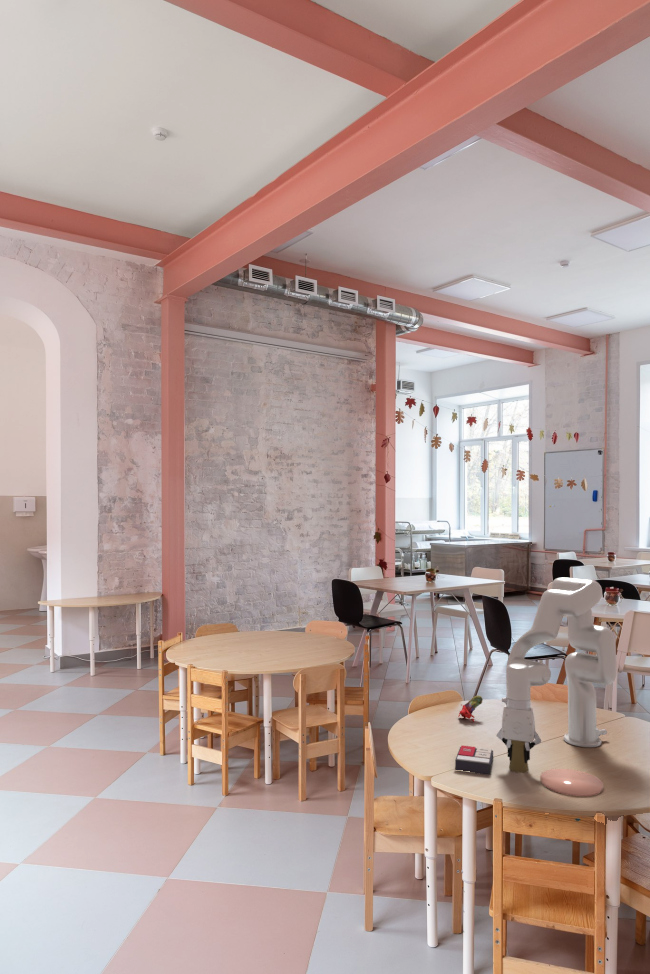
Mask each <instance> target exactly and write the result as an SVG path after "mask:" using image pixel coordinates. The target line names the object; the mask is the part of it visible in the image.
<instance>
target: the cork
mask: <svg viewBox="0 0 650 974" xmlns="http://www.w3.org/2000/svg"><path fill="white" fill-rule="evenodd" d="M511 743H512V758H511V761H510V760H509V765H508V768H509V770H510V771H512V772H515V773H520V774H522V773H527V772H529V770H530V769H529V764H528V762H527V763H525V759H524V751H525V748H526V747H525V742H522V741H515V740H511Z"/></svg>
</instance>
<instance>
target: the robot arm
mask: <svg viewBox="0 0 650 974" xmlns="http://www.w3.org/2000/svg"><path fill="white" fill-rule="evenodd" d="M602 597H603V589H602V586H601V585H600V583H599V582H598V581H596V580H593V579H587V578H586V579H583V578H575V577H565V576H564V577H557V578H555V579H554V580H553V581H552V583H551V589H547V590H545V591H544V592H543V593H542V595H541V597H540V601H539V604H538V607H537V610H536V614H535V616H534V620H533V623H532V626H531V628H530V629H529V630H528V631H526V632H525V633H524V634H522V635H521V636H520V637H519V638H518V639H517V640H516V642H514V644H513V646H512V647H511V649H510V653H509V656H508V660H507V661H506V662H507V663H506V670H505V671H506V672H505V673H506V675H505V676H506V677H505V679H506V680H505V683H506V685H505V686H506V689H505V691H506V697H501V702H502V703H504V704H505V705H504V706H503V709H502V715H501V717H502V718H501V719H502V720H501V728H500V730H499V731H497V733H496V734H495V735H496V737H497V738H498V739H499V740H500V741H502V743H504V745H505V746H506V748H507V757H508V758H509V762H510V761H511V758H512V743H511V740H515V741H522V742H525V747H526V748H525V751H524V759H525V763H527V762H528V761H530V759H531V752H530V750H531V749H533V748H534V747H536V746H537V745H539V744H541V743H542V739H541V738H540V736H539V734H538V733H537V731H536V723H535V713H534V708H532V707H531V702H532V701H531V699H532V698H531V687H542V686H545V685H546V684H547V683H549V681H550V680H551V677H552V676H551V675H552V671H551V669H550V667H549V666H548V665H547V664H545V663H544V662H540V661H536V660H531V659H528V658H527V659H526V655H527V654H528V653H529V651H530V650H531V649H532V648H534V647H536V646H538V645H540V644H544V643H547V642H550V641H553V640H556V638H557V637H558V635H559V630H560V628H561V624H562V621H563V618H564V616H566V618H567V637H568V640H567V641H568V643H569V645H570V647H572V648H573V649H576V650H580V651H584V652H575V651H574V652H571V653H569V654H568V655H567V656H566V658H565V659H564V670H565V675H566V680H567V717H568V718H567V724H568V725H567V730H568V731H567V732H568V733H565V734H564V735H563V740H564V741H565V742H566V743H568V744H570V745H572V746H576V747H580V748H581V747H582V748H595V747H599V746H601V745H602V739H601V738H600V737H601V736H603V735H604V736H605V735H607V734H608V730H607V729H606V728H602V729H599V728H598V727H597V691H596V688H595V687H594V684H597V685H598V684H599V685H604V686H610V685H612V684H614V682H615V681H616V678H617V668H618V667H617V645H616V638H615V634H614V632H613V630H611V628H608V626H607V627H606V626H603V625H597V624H594V622H593V611H592V608H594V607H595V606H596V605H598V603H599V602H600V601H601V599H602ZM585 652H589V653H590V652H591V653H595V655H594V654H589V653H585Z"/></svg>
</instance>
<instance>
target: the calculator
mask: <svg viewBox="0 0 650 974" xmlns="http://www.w3.org/2000/svg"><path fill="white" fill-rule="evenodd" d="M493 761H494V750H493V749H492V748H489V747H488V748H486V747H479V746H477V747H476V746H472V745H471V746H469V745H461V746H459V749H458V751H457V754H456V757H455V761H454V765H455V766H454V771H455V770H463V771H470V772H475V773H474V774H477V773H480V775H487V776H490V775H491V773H492V766H493Z"/></svg>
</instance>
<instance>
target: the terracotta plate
mask: <svg viewBox="0 0 650 974" xmlns="http://www.w3.org/2000/svg"><path fill="white" fill-rule="evenodd" d="M539 782H540V783H541V784H542V785H543V787H545V788H546V789H548V790H550V791H552V792H555V793H559V794H562V795H566V796H571V797H591V796H597V795H599V794H601V793H602V792H603V790H604V784H603V781H602V780H601V779H600V778H598V777H597V776H595V775H593V774H590V773H588V772H585V771H583V770H578V769H577V770H576V769H569V768H551V769H548V770H545V771H543V772H541V774H540V776H539Z"/></svg>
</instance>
